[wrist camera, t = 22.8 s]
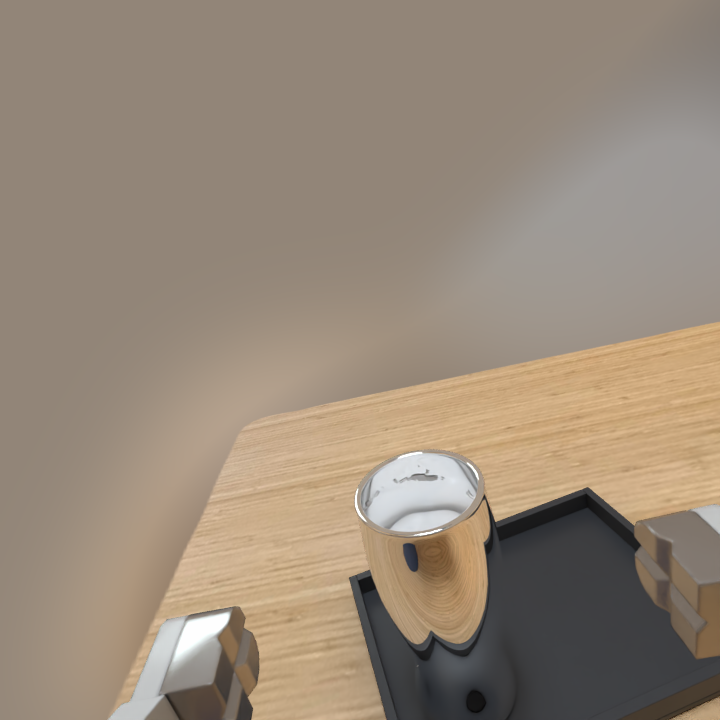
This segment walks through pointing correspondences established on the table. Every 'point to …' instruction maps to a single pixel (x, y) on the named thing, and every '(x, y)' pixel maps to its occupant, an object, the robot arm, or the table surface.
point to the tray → (564, 625)
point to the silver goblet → (440, 579)
